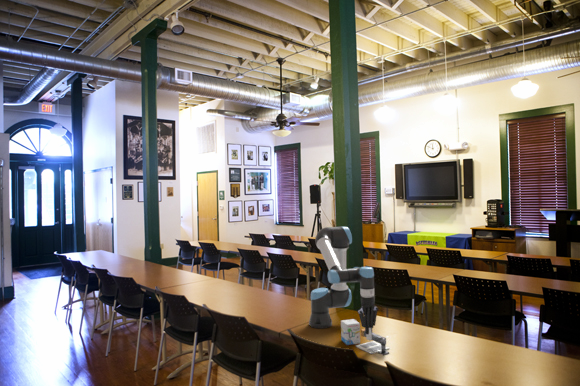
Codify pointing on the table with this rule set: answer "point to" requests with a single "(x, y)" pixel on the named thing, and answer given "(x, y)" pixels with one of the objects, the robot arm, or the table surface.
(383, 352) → the pivot post
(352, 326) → the ink box
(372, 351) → the label plate
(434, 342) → the table surface
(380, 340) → the swing arm
